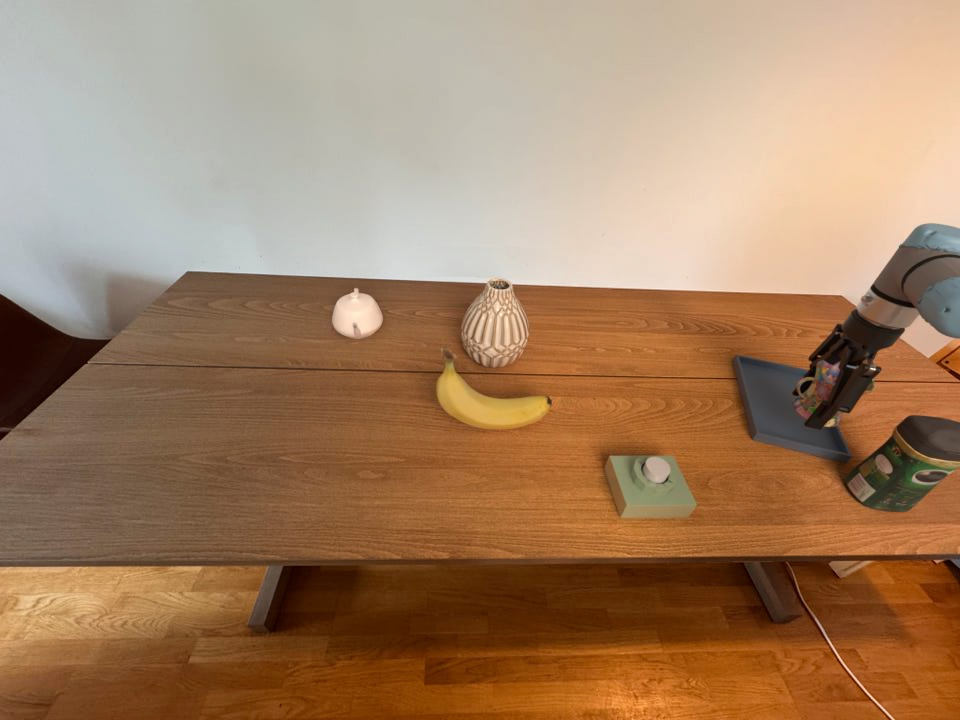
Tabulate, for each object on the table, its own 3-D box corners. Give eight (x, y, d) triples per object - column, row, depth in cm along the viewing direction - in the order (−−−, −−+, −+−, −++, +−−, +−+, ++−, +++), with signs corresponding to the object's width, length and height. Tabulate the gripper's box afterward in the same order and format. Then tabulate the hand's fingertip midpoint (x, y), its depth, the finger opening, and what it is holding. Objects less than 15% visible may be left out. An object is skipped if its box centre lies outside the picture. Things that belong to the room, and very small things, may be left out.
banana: (543, 412, 89) (561, 336, 76) (549, 433, 84) (569, 356, 71) (436, 415, 86) (435, 337, 73) (436, 437, 82) (435, 358, 69)
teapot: (385, 351, 101) (381, 316, 95) (331, 356, 99) (324, 320, 92) (382, 306, 116) (379, 273, 110) (335, 309, 114) (329, 276, 107)
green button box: (620, 518, 71) (630, 498, 67) (603, 468, 78) (612, 448, 75) (688, 517, 72) (702, 498, 68) (665, 468, 79) (677, 448, 75)
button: (647, 483, 70) (650, 476, 68) (638, 463, 73) (642, 456, 72) (670, 483, 70) (674, 476, 69) (661, 463, 73) (665, 456, 72)
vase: (525, 340, 108) (536, 269, 95) (524, 381, 96) (537, 307, 83) (464, 333, 109) (467, 263, 96) (455, 374, 96) (457, 299, 84)
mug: (822, 398, 89) (854, 360, 82) (851, 432, 82) (888, 393, 75) (766, 395, 89) (793, 356, 82) (790, 428, 81) (821, 389, 75)
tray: (846, 463, 83) (852, 456, 81) (752, 439, 86) (757, 433, 85) (807, 376, 103) (811, 370, 102) (732, 360, 106) (735, 354, 105)
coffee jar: (886, 479, 80) (962, 412, 68) (915, 517, 74) (1004, 450, 62) (834, 473, 81) (901, 405, 69) (858, 510, 75) (937, 443, 63)
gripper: (834, 284, 79) (773, 373, 94) (880, 349, 64) (799, 444, 78) (879, 292, 78) (810, 381, 92) (938, 360, 62) (844, 455, 77)
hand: (805, 410), depth 85 cm, fingers closed on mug, 8 cm apart
